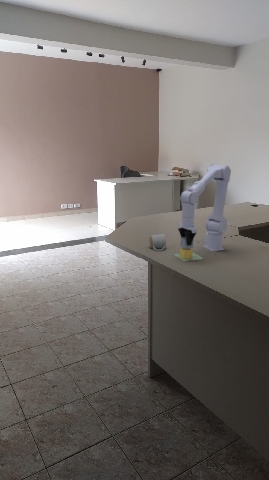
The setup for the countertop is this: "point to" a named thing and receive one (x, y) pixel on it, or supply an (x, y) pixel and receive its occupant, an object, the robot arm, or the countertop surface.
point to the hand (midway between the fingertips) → (186, 243)
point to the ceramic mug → (158, 242)
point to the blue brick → (184, 244)
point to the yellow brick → (186, 253)
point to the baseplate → (194, 257)
